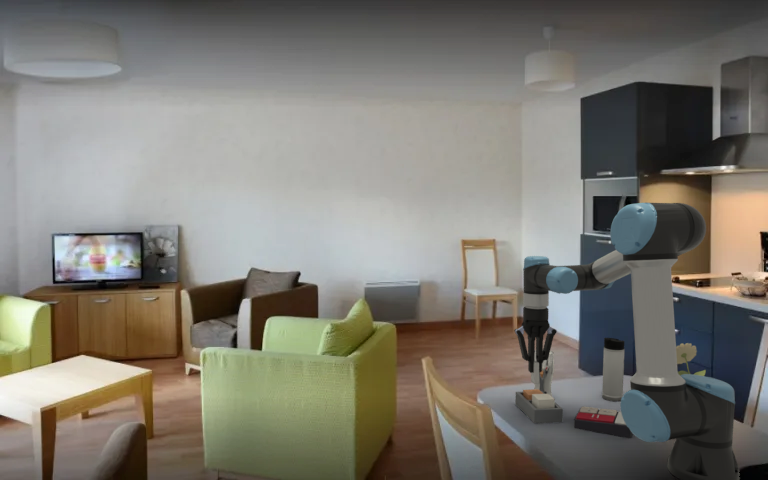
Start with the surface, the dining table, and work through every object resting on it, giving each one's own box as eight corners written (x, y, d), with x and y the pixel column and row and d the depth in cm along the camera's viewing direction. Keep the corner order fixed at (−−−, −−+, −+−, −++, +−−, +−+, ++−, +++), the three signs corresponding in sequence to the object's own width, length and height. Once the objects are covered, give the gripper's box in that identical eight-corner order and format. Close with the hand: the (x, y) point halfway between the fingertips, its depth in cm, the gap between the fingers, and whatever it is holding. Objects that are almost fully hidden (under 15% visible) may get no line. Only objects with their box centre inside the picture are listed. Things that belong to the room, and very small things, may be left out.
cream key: (554, 412, 177) (554, 399, 177) (538, 413, 177) (538, 399, 176) (547, 406, 182) (548, 393, 182) (531, 407, 181) (532, 394, 181)
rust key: (544, 407, 185) (544, 394, 184) (528, 407, 184) (528, 395, 184) (538, 401, 190) (538, 389, 189) (522, 402, 189) (523, 389, 189)
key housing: (562, 422, 176) (562, 408, 175) (534, 423, 175) (534, 410, 174) (541, 403, 192) (541, 390, 191) (515, 404, 191) (515, 391, 190)
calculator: (580, 404, 181) (634, 410, 174) (580, 419, 181) (634, 425, 174) (573, 416, 171) (630, 423, 164) (574, 431, 171) (631, 439, 164)
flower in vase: (711, 425, 174) (716, 340, 172) (722, 441, 163) (727, 350, 161) (662, 420, 177) (666, 337, 175) (669, 435, 166) (673, 346, 164)
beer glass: (527, 394, 200) (528, 350, 199) (545, 392, 202) (547, 348, 201) (538, 401, 193) (540, 355, 192) (557, 399, 195) (559, 353, 194)
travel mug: (597, 396, 198) (599, 336, 197) (612, 393, 201) (614, 334, 199) (611, 402, 192) (613, 341, 191) (626, 399, 195) (629, 339, 194)
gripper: (551, 304, 189) (550, 378, 190) (511, 305, 187) (510, 379, 189) (561, 308, 182) (560, 385, 183) (519, 309, 180) (518, 387, 181)
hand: (534, 382), depth 186 cm, fingers closed
